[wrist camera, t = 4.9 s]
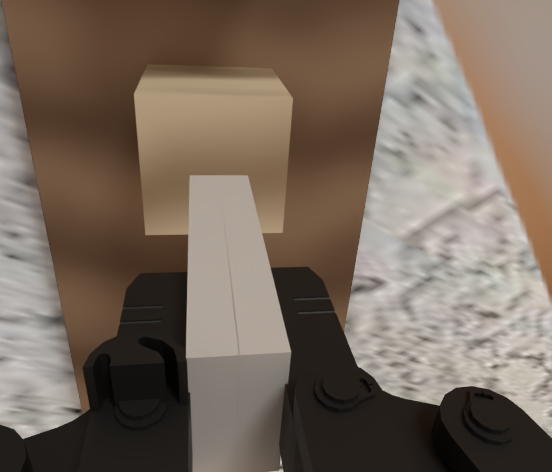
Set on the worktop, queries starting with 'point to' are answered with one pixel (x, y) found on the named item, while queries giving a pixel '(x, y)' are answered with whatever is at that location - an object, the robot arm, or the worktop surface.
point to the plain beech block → (211, 138)
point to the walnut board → (124, 144)
